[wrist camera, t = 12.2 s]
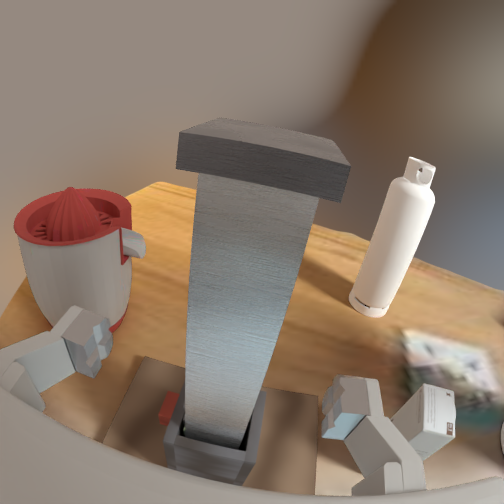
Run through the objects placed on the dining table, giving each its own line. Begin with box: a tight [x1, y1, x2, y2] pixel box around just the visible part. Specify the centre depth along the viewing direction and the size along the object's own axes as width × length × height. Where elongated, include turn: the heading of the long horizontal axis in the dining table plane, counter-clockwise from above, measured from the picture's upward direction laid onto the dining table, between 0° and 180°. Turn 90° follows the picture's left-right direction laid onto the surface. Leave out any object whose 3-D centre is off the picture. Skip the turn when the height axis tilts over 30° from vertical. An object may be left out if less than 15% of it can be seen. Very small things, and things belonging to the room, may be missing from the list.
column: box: [176, 118, 351, 450], centre depth 17 cm, size 5×5×23 cm
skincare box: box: [390, 384, 456, 460], centre depth 25 cm, size 6×4×12 cm
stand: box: [102, 356, 318, 495], centre depth 23 cm, size 22×22×12 cm
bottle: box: [349, 157, 436, 317], centre depth 49 cm, size 8×8×28 cm
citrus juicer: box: [14, 187, 146, 333], centre depth 36 cm, size 16×17×20 cm
